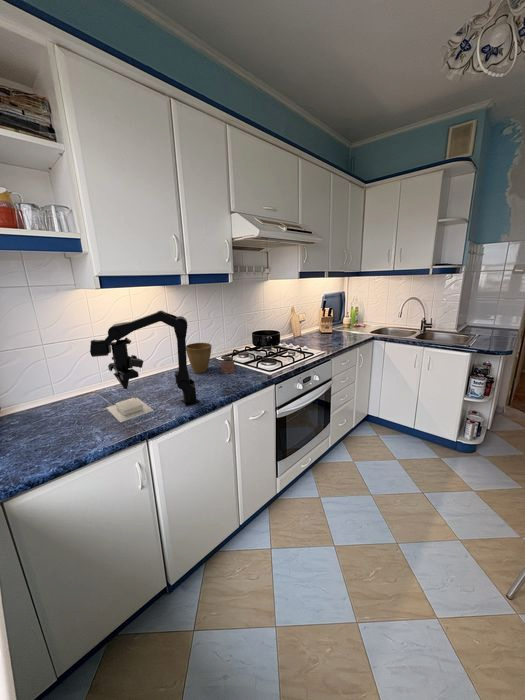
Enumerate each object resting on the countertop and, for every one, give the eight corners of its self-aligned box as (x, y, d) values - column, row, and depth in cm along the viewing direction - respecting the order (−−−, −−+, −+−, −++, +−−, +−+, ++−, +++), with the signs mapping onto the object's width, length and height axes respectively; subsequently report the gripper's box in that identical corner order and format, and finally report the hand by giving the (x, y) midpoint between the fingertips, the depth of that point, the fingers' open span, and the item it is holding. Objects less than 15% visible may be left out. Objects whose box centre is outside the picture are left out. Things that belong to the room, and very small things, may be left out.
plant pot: (197, 377, 164) (195, 350, 159) (183, 371, 174) (180, 346, 169) (218, 370, 174) (216, 345, 170) (203, 365, 184) (201, 341, 180)
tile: (134, 402, 133) (143, 409, 126) (116, 408, 128) (124, 416, 121) (133, 397, 133) (142, 404, 126) (115, 403, 127) (123, 410, 120)
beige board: (154, 411, 126) (153, 410, 126) (120, 423, 117) (120, 422, 117) (137, 398, 138) (137, 397, 138) (106, 408, 129) (105, 407, 129)
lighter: (235, 371, 172) (234, 355, 169) (234, 373, 169) (233, 357, 166) (222, 371, 173) (221, 355, 170) (220, 373, 170) (219, 357, 167)
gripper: (148, 354, 120) (153, 389, 124) (131, 346, 132) (136, 378, 137) (120, 361, 112) (126, 397, 116) (105, 351, 125) (110, 385, 129)
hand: (125, 388), depth 125 cm, fingers closed
